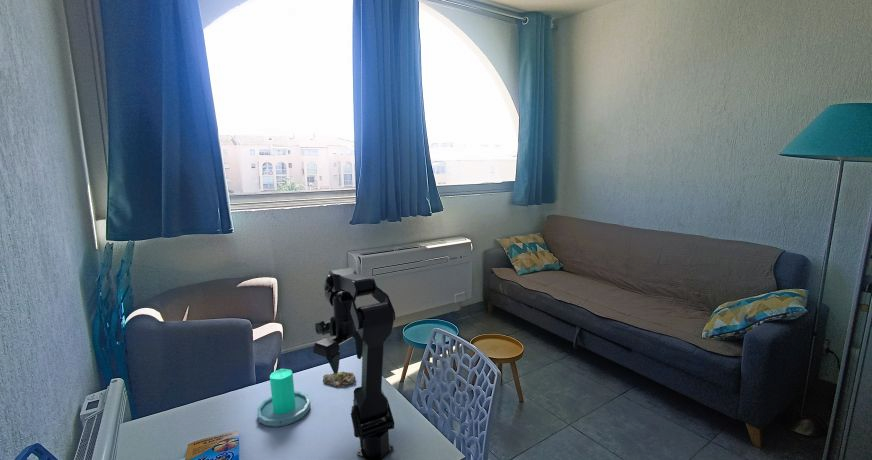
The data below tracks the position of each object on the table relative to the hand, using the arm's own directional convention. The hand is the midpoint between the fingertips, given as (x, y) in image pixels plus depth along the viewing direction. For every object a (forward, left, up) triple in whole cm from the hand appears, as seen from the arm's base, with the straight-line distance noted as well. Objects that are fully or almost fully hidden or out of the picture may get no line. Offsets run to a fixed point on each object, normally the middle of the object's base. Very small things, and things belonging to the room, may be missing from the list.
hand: (347, 365), depth 112 cm
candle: (+15, +11, -12) cm, 22 cm away
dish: (+15, +11, -13) cm, 23 cm away
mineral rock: (+13, -9, -14) cm, 21 cm away
